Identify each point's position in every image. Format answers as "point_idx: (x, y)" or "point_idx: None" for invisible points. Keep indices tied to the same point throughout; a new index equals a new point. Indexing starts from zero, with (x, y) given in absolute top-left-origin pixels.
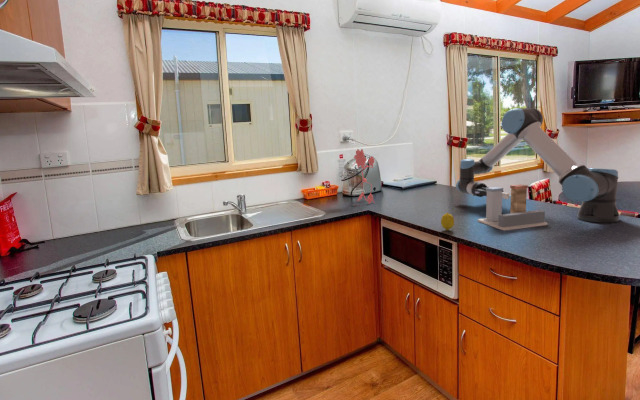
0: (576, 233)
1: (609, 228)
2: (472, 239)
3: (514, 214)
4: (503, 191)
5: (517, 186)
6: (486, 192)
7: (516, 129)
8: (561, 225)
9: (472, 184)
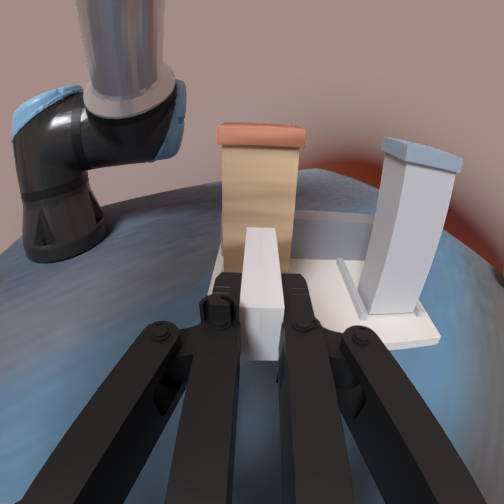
0: None
1: (143, 208)
2: (454, 241)
3: (347, 215)
4: (154, 328)
5: (293, 125)
6: (409, 402)
7: None
8: (193, 236)
9: None
